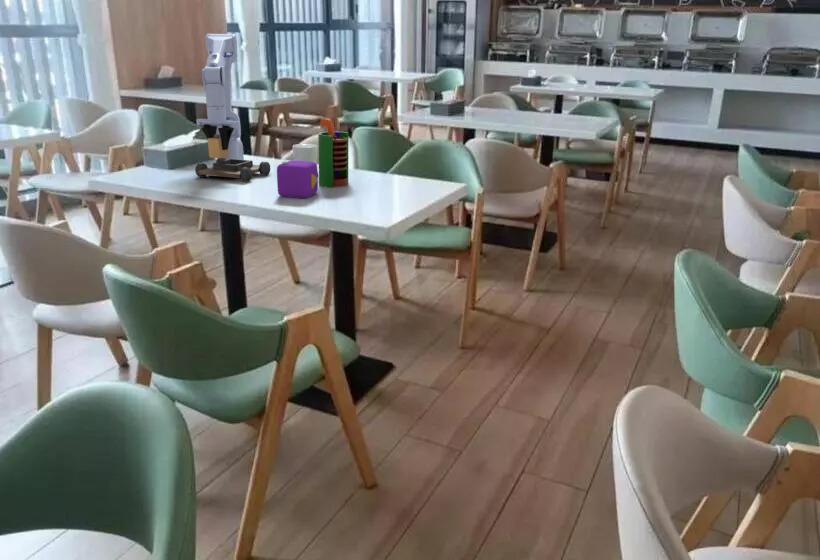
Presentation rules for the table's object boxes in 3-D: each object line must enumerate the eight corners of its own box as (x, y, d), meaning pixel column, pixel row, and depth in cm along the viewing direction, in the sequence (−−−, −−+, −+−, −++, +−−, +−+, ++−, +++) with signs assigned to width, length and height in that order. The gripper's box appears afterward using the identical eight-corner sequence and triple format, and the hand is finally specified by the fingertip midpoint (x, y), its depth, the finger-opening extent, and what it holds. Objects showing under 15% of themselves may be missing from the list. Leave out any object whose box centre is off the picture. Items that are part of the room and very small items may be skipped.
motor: (342, 188, 207) (341, 121, 200) (314, 186, 209) (312, 120, 202) (351, 182, 216) (351, 117, 210) (324, 180, 218) (323, 116, 211)
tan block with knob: (218, 154, 224) (216, 133, 221) (228, 155, 222) (227, 134, 220) (209, 157, 219) (207, 135, 217) (219, 158, 218) (217, 136, 216)
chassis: (224, 169, 232) (223, 156, 230) (271, 174, 226) (270, 160, 224) (195, 178, 218) (194, 163, 216) (244, 183, 212) (243, 168, 210)
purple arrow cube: (323, 189, 205) (322, 156, 202) (312, 200, 193) (311, 164, 189) (288, 188, 206) (286, 155, 203) (275, 198, 193) (273, 163, 190)
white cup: (288, 176, 223) (287, 146, 219) (303, 172, 229) (302, 142, 226) (308, 179, 219) (307, 148, 216) (322, 175, 226) (321, 145, 222)
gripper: (189, 105, 215) (192, 149, 219) (227, 108, 210) (231, 152, 214) (202, 104, 221) (206, 146, 225) (240, 106, 216) (243, 149, 221)
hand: (219, 149), depth 220 cm, fingers closed on tan block with knob, 4 cm apart
